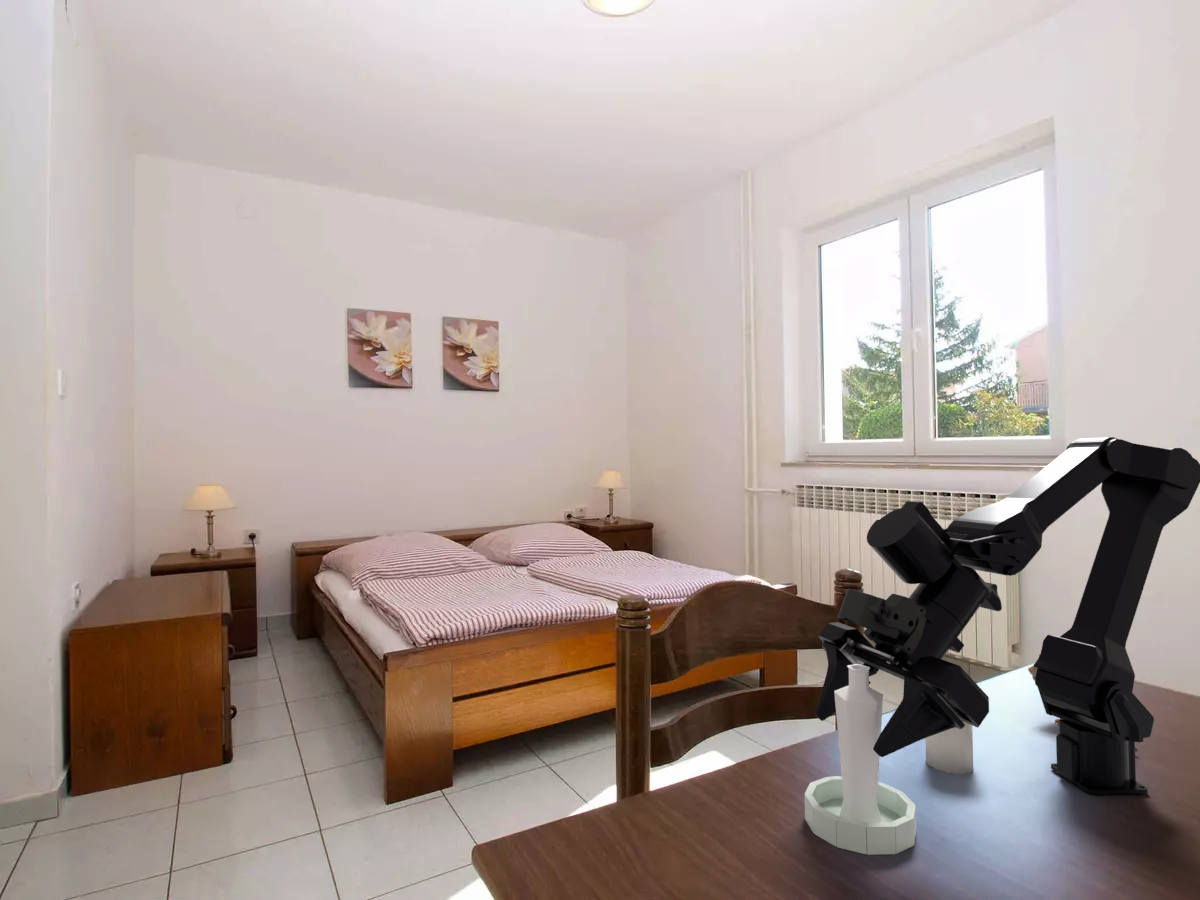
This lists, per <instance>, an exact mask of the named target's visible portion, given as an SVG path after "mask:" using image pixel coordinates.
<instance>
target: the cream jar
mask: <svg viewBox="0 0 1200 900" xmlns="http://www.w3.org/2000/svg"><path fill="white" fill-rule="evenodd" d="M961 721H962V720H961ZM962 722H963V723H964V724H965V726H964V728H962V729H959V728H956V727H955V728H951V729H949V730H946V731H943V732H940V733H938V734H935V735H932V736H929V737H927V738H924V739H925V762H926V764H927V765H928V766H929V767H931V768H933V769H935V770H937V771H940V772H944V773H946V774H947V773H948V774H953V775H955V774H956V775H964V774H970V773H971V772H973V771H974V745H973V744H974V742H973V741H974V740H973V739H974V738H973V734H974V733H973V725H971V724H968V723H966V722H964V721H962Z"/></svg>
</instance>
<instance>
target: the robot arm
mask: <svg viewBox="0 0 1200 900" xmlns="http://www.w3.org/2000/svg"><path fill="white" fill-rule="evenodd" d="M1065 449H1066V450H1065V451H1064V452H1062V453H1061V454H1060V455H1058V456H1057V457H1056V458H1055V459H1054V460H1052V461H1051V462H1050V463H1048V464H1047V465H1046V466H1045V467H1043V468H1042V469H1041V470H1040V471H1038V472H1037V473H1036V474H1034V475H1033V476H1032V477H1031V478H1029V479H1028V480H1027V481H1026V482H1024V483H1023V484H1021V486H1020V487H1018V488H1017V489H1015V490H1014V491H1013V492H1012V493H1010V494H1009V495H1008V496H1007V497H1005V498H1003V499H1001V500H1000V501H997V502H993V503H990V504H986V505H983V506H980V507H977V508H973V509H972V510H970V511H968V512H966V513H964V514H963V515H960V516H958V517H956V518H955V519H953V520H952V521H951V523H950V524H948V526H947V527H945V528H943V527H942V526H941V524H939V523H938V521H937V520H936V519H935V517H934V516H933V515H932V513H931V511H930V510H929V508H928V507H927V506H926V505H925V503H923V502H922V501H915V500H907V501H906V502H905V503H904V504H903V505H902V507H899V508H897V509H894V510H892V511H890V512H888V513H886V514H885V515H883V516H882V517H881V518H880V519H876V520H875V521H874V522H873V523H872V524H871V526H870V528H869V529H868V531H867V534H866V543H867V544H868V545H869V546H870V547H871V548H872V549H873V550H874V552H875V553H876V554H877V555H878V556H879V557H880V558H881V560H883V562H884V563H885V564H886V565H888V567H889V568H890V570H891V571H893V573H895V575H896V576H897V577H898V578H899V579H900V580H901V581H902V582H904V583H905V584H909V585H917V584H918V585H917V586H916V588H915V589H914V591H913V592H912V593H911V594H910V595H909V597H907V596H903V595H900V594H896V593H891V594H890V595H889V596H888V597H887V598H886V599H884V598H881V597H878V596H875V595H874V594H869V593H866V592H862V591H858V590H854V589H852V588H847V590H846V593H845V595H844V598H843V601H842V604H841V606H840V609H839V612H838V614H837V618H838V619H840V620H843V621H848V622H849V621H850V622H852V623H854V624H856V625H858V626H860V627H863V628H865V630H864V631H863V634H862V633H861V632H860V631H859V629H858V628H855V627H852V626H849V625H847V624H844V623H841V622H839V621H837V622H835V621H834V622H828V623H827V624H826V625H825V627H824V628H823V629H822V630H821V632H820V633H819V634H818V638H819V639H820V640H821V644H822V645H821V647H822V649H823V650H824V652H825V653H826V658H827V659H826V660H827V670H826V674H825V678H824V682H823V685H822V689H821V691H820V695H819V698H818V701H817V703H816V707H815V710H814V715H815V717H817V718H818V720H819V721H822V722H823V721H825V720H826V719H828V718H831V716H832V715H834V714H836V706H835V694H834V691H835V690H838V689H841V688H843V687H846V686H848V685H849V668H848V667H847V666H848V665H854V664H860V665H864V666H868V667H870V669H869V677H871V676H875V675H876V674H878V672H879V670H880V671H883V672H885V673H887V674H890V675H892V676H893V677H897V678H898V679H902V680H903V693H902V694H903V697H902V699H901V701H900V703H899V704H898V706H897V708H896V709H895V711H894V712H893V713H892V716H891V717H890V718H889V720H888V722H887V723H886V725H885V726H884V728H883V729H882V730H881V734H880V736H879V737H878V739H877V741H876V743H875V745H874V747H873V750H874V751H875V752H876V753H877V754H878V755H879V756H880V758H884V757H886V756H888V755H890V754H893V753H895V752H897V751H900V750H902V749H904V748H906V747H907V746H910V745H913V744H915V743H916V742H919V741H922V740H924V739H925V738H927V737H929V736H932V735H935V734H938V733H940V732H943V731H946V730H949V729H951V728H955V727H956V728H959V729H962V728H964V726H965V724H964V723H963V722H962V721H964V722H966V723H968V724H971V725H972V727H975V728H979V727H980V726H981V724H982V723H983V721H984V720H985V719H986V717H987V715H988V714H990V698H989V696H988V695H987V694H986V692H985V691H984V690H983V689H982V688H981V687H980V686H979V685H978V684H977V682H975V681H974V680H973V679H972V677H971V676H970V675H969V674H968V673H967V672H966V670H964V669H963V667H962V666H961V665H958V664H956V663H953V662H950V661H948V660H944V659H943V658H944V657H945V655H946V654H947V653H948V651H953V652H955V653H957V654H958V653H961V651H962V649H963V648H964V646H965V644H964V643H963V641H961V640H960V639H959V636H960V634H961V633H962V632H963V630H965V628H966V626H967V625H968V623H970V621H971V619H972V618H973V617H974V615H975V614H976V613H977V611H978V610H979V609H980V608H983V609H986V610H987V609H988V610H990V611H994V612H1000V611H1002V609H1003V608H1002V607H1003V606H1002V605H1003V604H1002V601H1001V598H1000V595H999V594H998V585H997V584H995V583H992V582H987V581H985V580H984V579H983V578H982V577H981V575H980V574H979V573H978V572H977V571H979V572H985V573H992V574H997V575H1000V576H1001V575H1002V576H1015V575H1018V573H1021V572H1022V571H1023V570H1024V569H1026V567H1027V566H1028V564H1030V562H1031V561H1032V560H1033V558H1034V557H1035V556H1036V555H1037V554H1038V552H1039V551H1040V550H1041V549H1042V543H1043V534H1044V532H1045V531H1046V530H1047V529H1048V528H1049V527H1050V526H1051V525H1052V524H1054V523H1055V522H1056V521H1058V519H1060V518H1061V517H1062V516H1063V515H1064V514H1066V513H1067V512H1068V511H1069V510H1071V509H1072V508H1073V507H1074V506H1075V505H1076V504H1078V503H1079V502H1080V501H1081V500H1083V499H1084V498H1085V497H1086V496H1087V495H1089V494H1090V493H1091V492H1092V491H1094V490H1095V489H1096V488H1097V487H1098V486H1101V487H1100V491H1101V494H1102V497H1103V499H1104V503H1105V504H1106V505H1105V506H1106V508H1107V511H1108V512H1109V513H1108V518H1107V520H1106V524H1105V527H1104V530H1103V532H1102V536H1101V539H1100V542H1099V545H1098V548H1097V551H1096V554H1095V557H1094V559H1093V563H1092V566H1091V569H1090V572H1089V575H1088V578H1087V580H1086V584H1085V587H1084V590H1083V592H1082V596H1081V599H1080V601H1079V605H1078V608H1077V612H1076V615H1075V617H1074V620H1073V623H1072V625H1071V627H1070V628H1069V629H1068V630H1067V631H1065V632H1064V633H1063V634H1061V635H1060V636H1058V635H1055V634H1054V635H1053V634H1047V635H1046V636H1045V638H1044V639H1043V641H1042V646H1041V650H1040V654H1039V655H1040V656H1039V655H1038V658H1037V660H1036V661H1035V662H1034V664H1033V665H1034V667H1036V668H1037V670H1036V675H1035V681H1034V683H1035V686H1037V689H1038V693H1039V695H1040V699H1041V701H1042V705H1043V708H1044V711H1045V713H1046V715H1049V716H1053V717H1056V718H1057V719H1060V718H1061V719H1063V720H1059V725H1058V729H1059V730H1058V732H1059V733H1057V734H1056V736H1055V737H1056V738H1055V742H1056V743H1055V744H1056V746H1055V747H1056V750H1055V751H1056V752H1055V753H1056V763H1051V764H1050V769H1051V770H1052V771H1054V772H1055V773H1057V774H1059V775H1060V776H1062V777H1063V778H1065V779H1066V780H1068V781H1069V782H1071V783H1072V784H1074V785H1075V786H1077V787H1079V789H1082V791H1085V792H1086V793H1088V794H1092V795H1125V794H1127V795H1129V794H1130V795H1131V794H1133V795H1134V794H1148V793H1149V788H1148V786H1146V785H1144V784H1142V783H1140V782H1138V781H1137V774H1136V773H1137V769H1136V752H1135V748H1136V743H1144V739H1145V738H1150V737H1151V735H1152V731H1153V728H1154V727H1153V726H1154V721H1155V718H1154V716H1153V715H1152V713H1151V712H1150V711H1149V710H1148V708H1146V706H1145V705H1144V704H1143V703H1142V702H1141V701H1140V699H1138V698H1137V696H1136V695H1135V694H1134V693H1133V691H1134V684H1135V679H1136V674H1135V671H1134V668H1133V665H1132V663H1131V659H1130V656H1129V655H1128V652H1127V649H1126V644H1127V641H1128V639H1129V638H1128V637H1129V634H1130V631H1131V627H1133V626H1132V625H1133V623H1134V620H1135V616H1136V613H1137V609H1138V606H1139V604H1140V601H1141V600H1140V599H1141V597H1142V595H1143V594H1142V593H1143V591H1144V588H1145V585H1146V580H1147V578H1148V575H1149V572H1150V569H1151V565H1152V563H1153V559H1154V557H1155V553H1156V549H1157V547H1158V544H1159V540H1160V537H1161V535H1162V531H1163V529H1164V527H1165V526H1167V525H1168V524H1169V523H1170V522H1172V521H1173V520H1174V519H1176V518H1177V517H1178V516H1179V515H1181V514H1182V513H1183V512H1185V511H1186V510H1187V509H1188V508H1189V506H1190V504H1191V502H1192V500H1193V498H1194V496H1195V494H1196V492H1197V490H1198V488H1199V485H1200V463H1199V460H1198V459H1196V458H1195V457H1193V456H1192V454H1191V453H1190V452H1189V451H1188V450H1186V449H1184V448H1182V447H1166V448H1165V447H1164V448H1163V447H1156V446H1150V445H1145V444H1140V443H1139V444H1138V443H1133V442H1130V441H1128V440H1124V439H1119V438H1117V437H1113V436H1111V437H1110V436H1107V437H1087V438H1086V437H1084V438H1083V437H1082V438H1078V439H1076V440H1073V441H1071V442H1069V444H1068V445H1067V446H1066V448H1065ZM864 635H865V636H866V637H867V638H868V639H869V640H870V641H872V642H873V643H874V644H875V645H874V646H873V644H872V643H871V642H869V641H868V639H867V638H866V637H865V636H864ZM870 684H871V681H870V680H869V685H870ZM961 720H962V721H961Z"/></svg>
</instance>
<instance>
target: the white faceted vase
mask: <svg viewBox="0 0 1200 900" xmlns="http://www.w3.org/2000/svg"><path fill="white" fill-rule="evenodd" d="M847 667H848V668H849V685H848V686H846V687H843V688H841V689H838V690H835V691H834V694H835V706H836V712H835V714H836V715H835V716H836V727H837V736H838V737H837V738H838V751H839V752H838V753H839V761H840V763H839V764H840V772H841V775H840V776H842V787H843V798H844V799H843V803H842V807H841V810H840V815H841V816H842V817H843V818H846V819H850V820H855V821H859V822H863V823H880V821H881V816H880V812H879V809H878V805H877V794H878V781H879V777H880V776H879V775H880V774H879V773H880V758H881V757H880V756H879V755H878V754H877V753H876V752H875V751H874V750H873V747H874V745H875V743H876V741H877V739H878V737H879V736H880V734H881V732H882V719H883V704H884V703H883V701H884V694H883V693H880V692H879V691H877V690H876V689H874V688H873V687H870V684H869V681H870V678H869V677H870V676H869V669H870V667H868V666H864V665H860V664H854V665H848V666H847Z"/></svg>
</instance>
